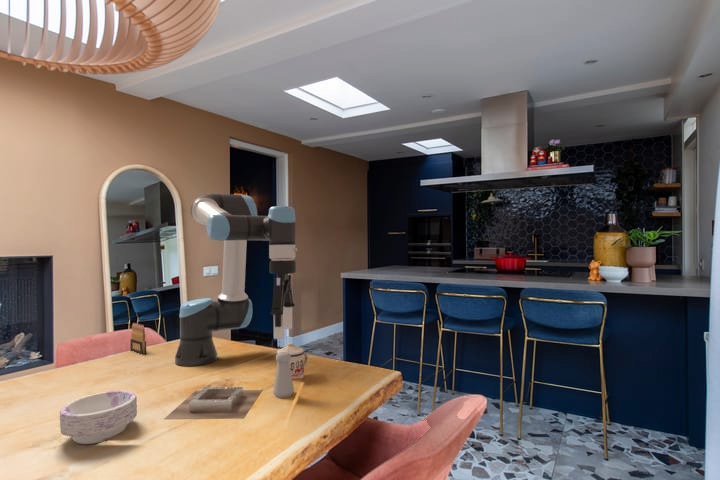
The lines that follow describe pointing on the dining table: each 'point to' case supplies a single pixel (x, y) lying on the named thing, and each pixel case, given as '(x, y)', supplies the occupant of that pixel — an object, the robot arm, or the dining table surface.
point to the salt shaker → (283, 376)
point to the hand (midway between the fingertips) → (283, 333)
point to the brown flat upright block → (138, 339)
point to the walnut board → (236, 413)
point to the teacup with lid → (295, 360)
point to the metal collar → (203, 404)
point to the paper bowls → (98, 416)
